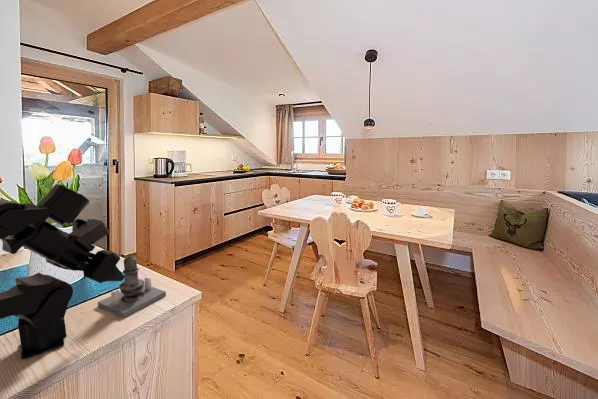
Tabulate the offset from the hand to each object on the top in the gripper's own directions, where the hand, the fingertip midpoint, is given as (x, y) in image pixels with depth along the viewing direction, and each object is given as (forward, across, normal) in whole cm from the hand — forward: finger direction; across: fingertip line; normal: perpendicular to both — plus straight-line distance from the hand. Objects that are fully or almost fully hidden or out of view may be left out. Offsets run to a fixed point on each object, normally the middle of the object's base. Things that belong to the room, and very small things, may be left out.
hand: (110, 274), depth 72 cm
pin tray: (+10, 0, +3) cm, 11 cm away
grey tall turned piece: (+10, 0, +2) cm, 10 cm away
